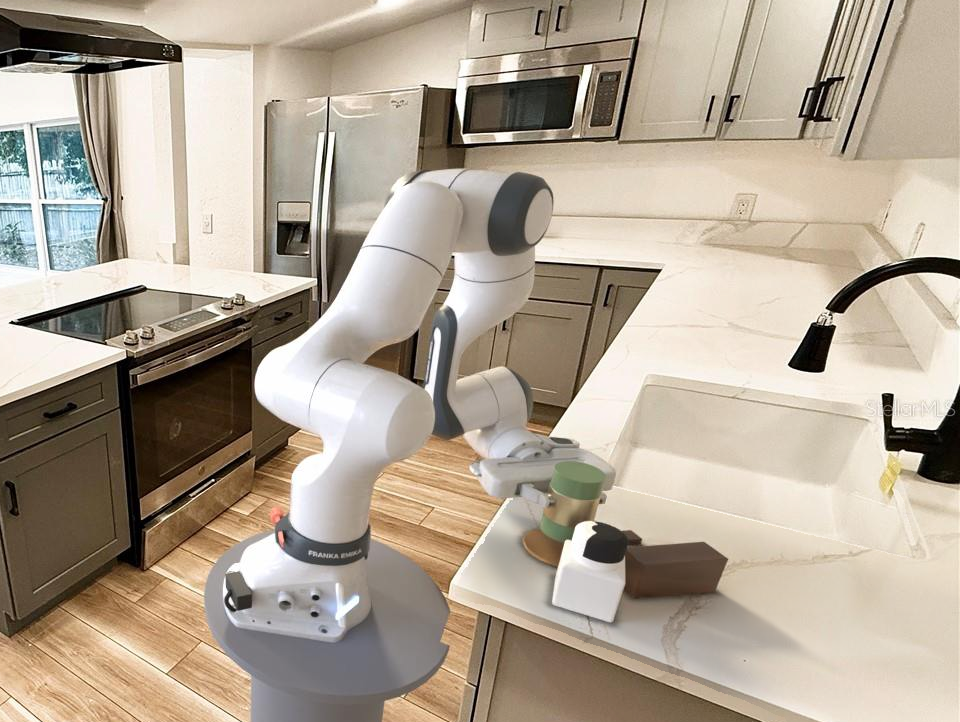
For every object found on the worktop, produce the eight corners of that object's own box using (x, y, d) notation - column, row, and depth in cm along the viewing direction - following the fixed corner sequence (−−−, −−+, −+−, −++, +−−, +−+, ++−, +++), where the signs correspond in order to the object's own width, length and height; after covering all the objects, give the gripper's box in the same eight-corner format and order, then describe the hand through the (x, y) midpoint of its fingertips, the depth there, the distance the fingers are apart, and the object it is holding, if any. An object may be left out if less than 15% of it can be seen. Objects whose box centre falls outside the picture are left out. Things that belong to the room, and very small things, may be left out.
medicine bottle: (612, 593, 88) (634, 524, 83) (612, 624, 83) (636, 552, 78) (555, 576, 92) (573, 510, 87) (551, 605, 87) (570, 536, 82)
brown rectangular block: (569, 540, 100) (577, 509, 97) (641, 535, 100) (651, 504, 98) (633, 598, 87) (644, 565, 85) (715, 592, 87) (728, 558, 85)
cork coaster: (541, 569, 94) (542, 566, 93) (512, 531, 103) (512, 528, 102) (610, 570, 93) (611, 567, 92) (574, 531, 102) (575, 528, 102)
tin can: (539, 549, 98) (517, 475, 102) (579, 546, 98) (556, 472, 102) (589, 538, 86) (563, 454, 90) (635, 534, 86) (606, 451, 91)
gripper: (466, 446, 104) (513, 489, 92) (583, 438, 105) (646, 479, 92) (461, 478, 107) (505, 524, 94) (575, 470, 107) (635, 514, 95)
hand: (576, 502), depth 93 cm, fingers closed on tin can, 6 cm apart
